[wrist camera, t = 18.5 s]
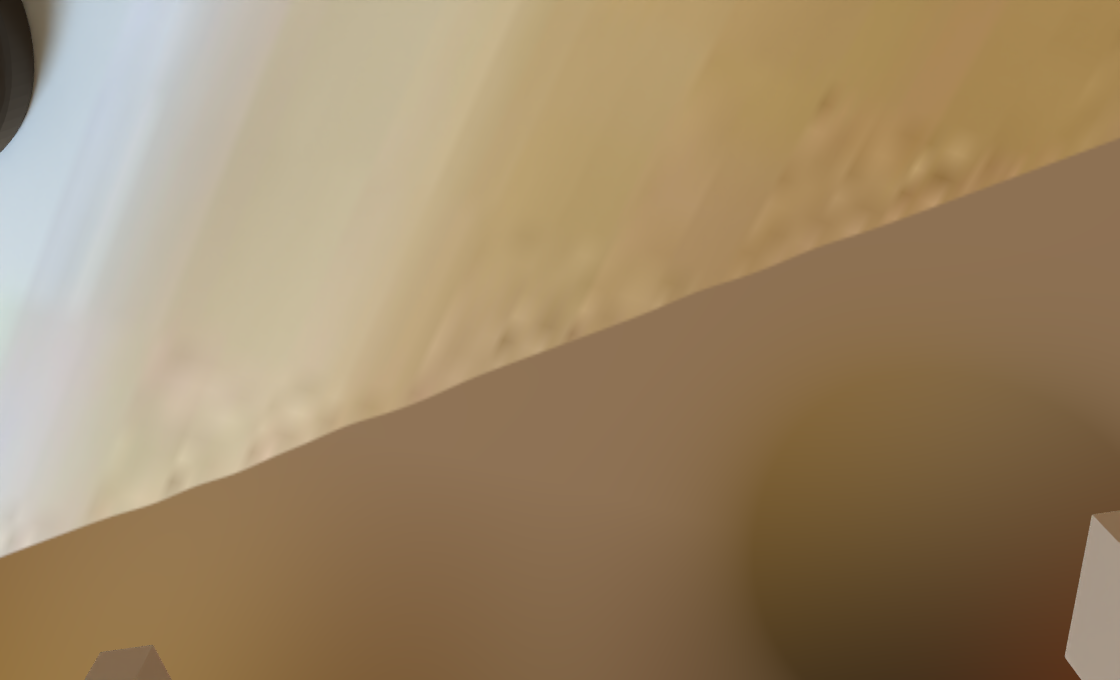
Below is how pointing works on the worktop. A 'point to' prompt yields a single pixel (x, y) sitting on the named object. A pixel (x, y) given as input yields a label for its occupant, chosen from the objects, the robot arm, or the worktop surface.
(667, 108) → the worktop surface
